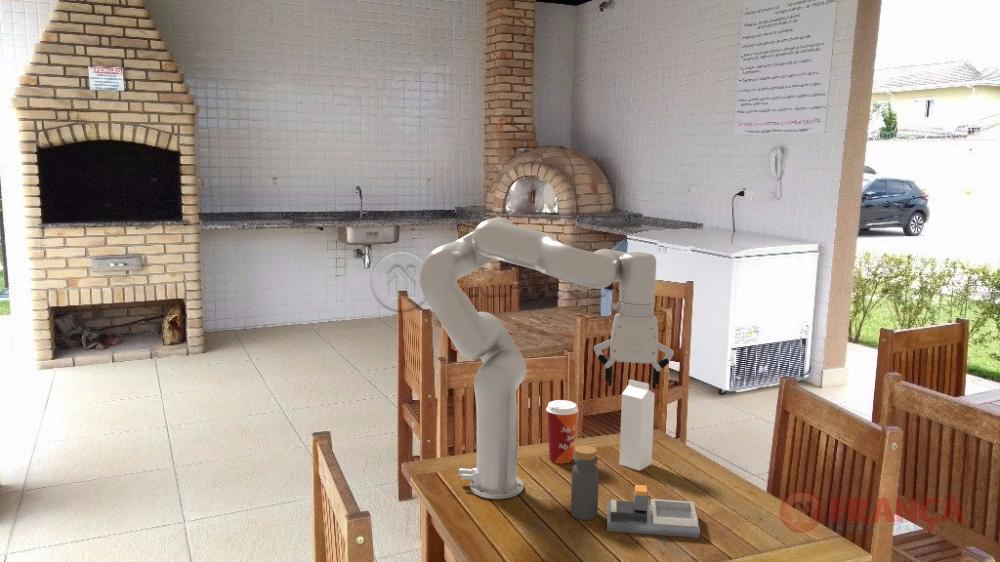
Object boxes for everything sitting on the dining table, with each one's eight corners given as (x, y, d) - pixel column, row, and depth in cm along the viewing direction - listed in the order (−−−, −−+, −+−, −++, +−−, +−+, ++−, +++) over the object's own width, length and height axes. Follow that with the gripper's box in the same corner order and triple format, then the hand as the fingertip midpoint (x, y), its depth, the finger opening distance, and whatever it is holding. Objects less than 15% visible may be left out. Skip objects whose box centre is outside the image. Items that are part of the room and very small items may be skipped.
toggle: (634, 509, 163) (634, 491, 163) (633, 502, 167) (634, 484, 166) (647, 510, 163) (648, 492, 162) (646, 503, 167) (647, 485, 166)
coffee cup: (568, 468, 194) (569, 411, 191) (539, 461, 198) (540, 405, 196) (582, 457, 201) (584, 402, 198) (554, 451, 205) (555, 397, 203)
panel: (606, 530, 162) (607, 515, 161) (607, 509, 171) (607, 494, 171) (699, 537, 159) (700, 522, 158) (694, 515, 169) (695, 500, 168)
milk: (639, 471, 193) (642, 386, 189) (618, 464, 197) (621, 381, 193) (652, 464, 197) (655, 381, 193) (631, 457, 201) (635, 376, 197)
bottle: (596, 521, 166) (598, 455, 163) (569, 518, 167) (571, 453, 165) (598, 509, 171) (600, 445, 169) (572, 507, 173) (574, 443, 170)
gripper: (595, 310, 164) (591, 388, 167) (678, 315, 162) (673, 393, 165) (596, 304, 172) (592, 378, 174) (675, 308, 169) (670, 383, 172)
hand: (631, 385), depth 170 cm, fingers open, 9 cm apart
